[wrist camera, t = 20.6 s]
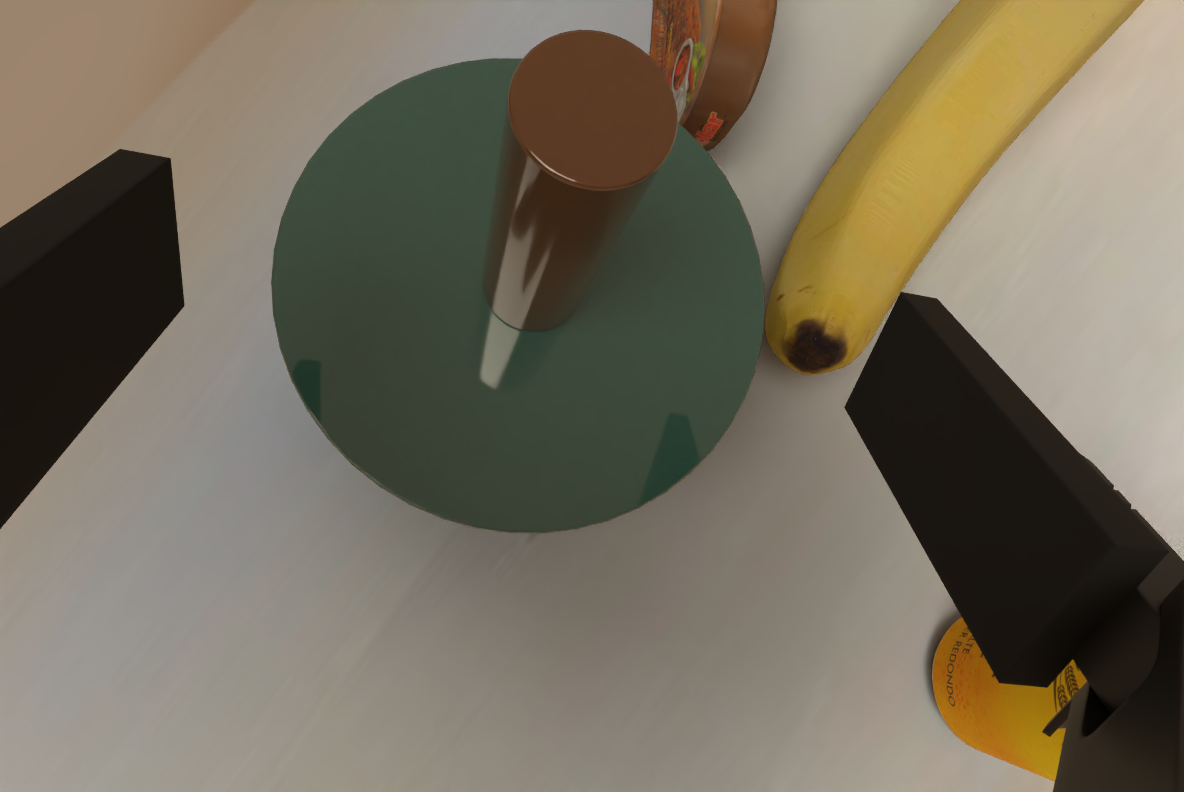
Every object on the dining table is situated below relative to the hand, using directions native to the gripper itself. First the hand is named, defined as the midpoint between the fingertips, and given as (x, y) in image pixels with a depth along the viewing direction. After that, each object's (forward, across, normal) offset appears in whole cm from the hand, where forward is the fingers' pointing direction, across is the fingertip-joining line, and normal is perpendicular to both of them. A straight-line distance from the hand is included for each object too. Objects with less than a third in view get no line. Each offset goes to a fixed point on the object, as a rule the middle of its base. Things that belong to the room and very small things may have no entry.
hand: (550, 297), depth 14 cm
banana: (+23, +16, -4) cm, 28 cm away
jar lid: (+7, 0, -3) cm, 8 cm away
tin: (+28, +6, +1) cm, 28 cm away
